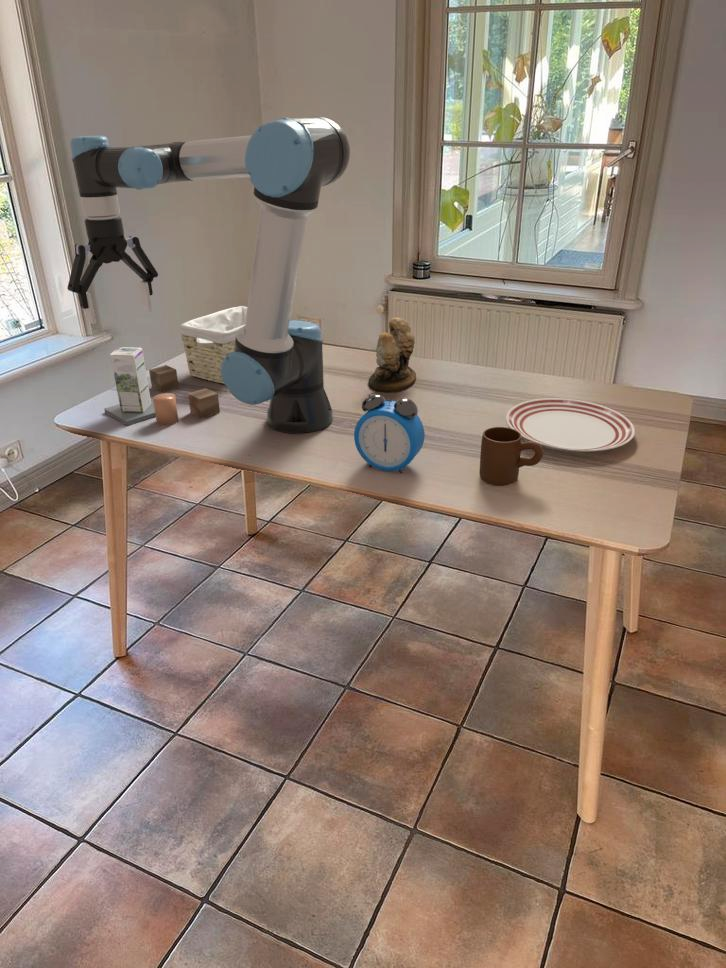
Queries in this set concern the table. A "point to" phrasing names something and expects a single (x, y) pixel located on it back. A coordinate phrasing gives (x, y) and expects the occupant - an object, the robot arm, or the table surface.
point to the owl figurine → (394, 358)
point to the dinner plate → (570, 424)
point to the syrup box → (131, 379)
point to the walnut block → (204, 403)
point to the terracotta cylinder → (165, 409)
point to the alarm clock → (389, 432)
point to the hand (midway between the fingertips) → (120, 316)
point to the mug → (505, 455)
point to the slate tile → (130, 414)
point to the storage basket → (211, 341)
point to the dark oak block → (164, 378)
